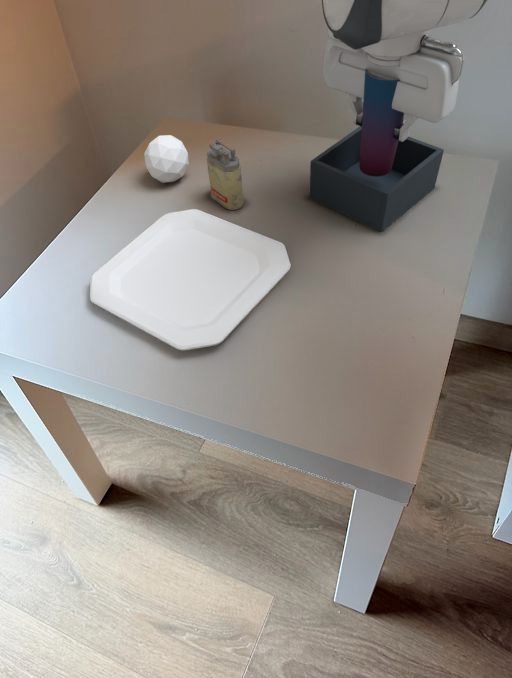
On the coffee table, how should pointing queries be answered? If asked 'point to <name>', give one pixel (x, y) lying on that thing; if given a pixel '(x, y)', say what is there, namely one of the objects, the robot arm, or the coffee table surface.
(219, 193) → the lighter
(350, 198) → the tub
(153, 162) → the geometric ball
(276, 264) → the plate
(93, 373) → the coffee table surface
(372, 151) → the cup
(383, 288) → the coffee table surface
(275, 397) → the coffee table surface
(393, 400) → the coffee table surface
